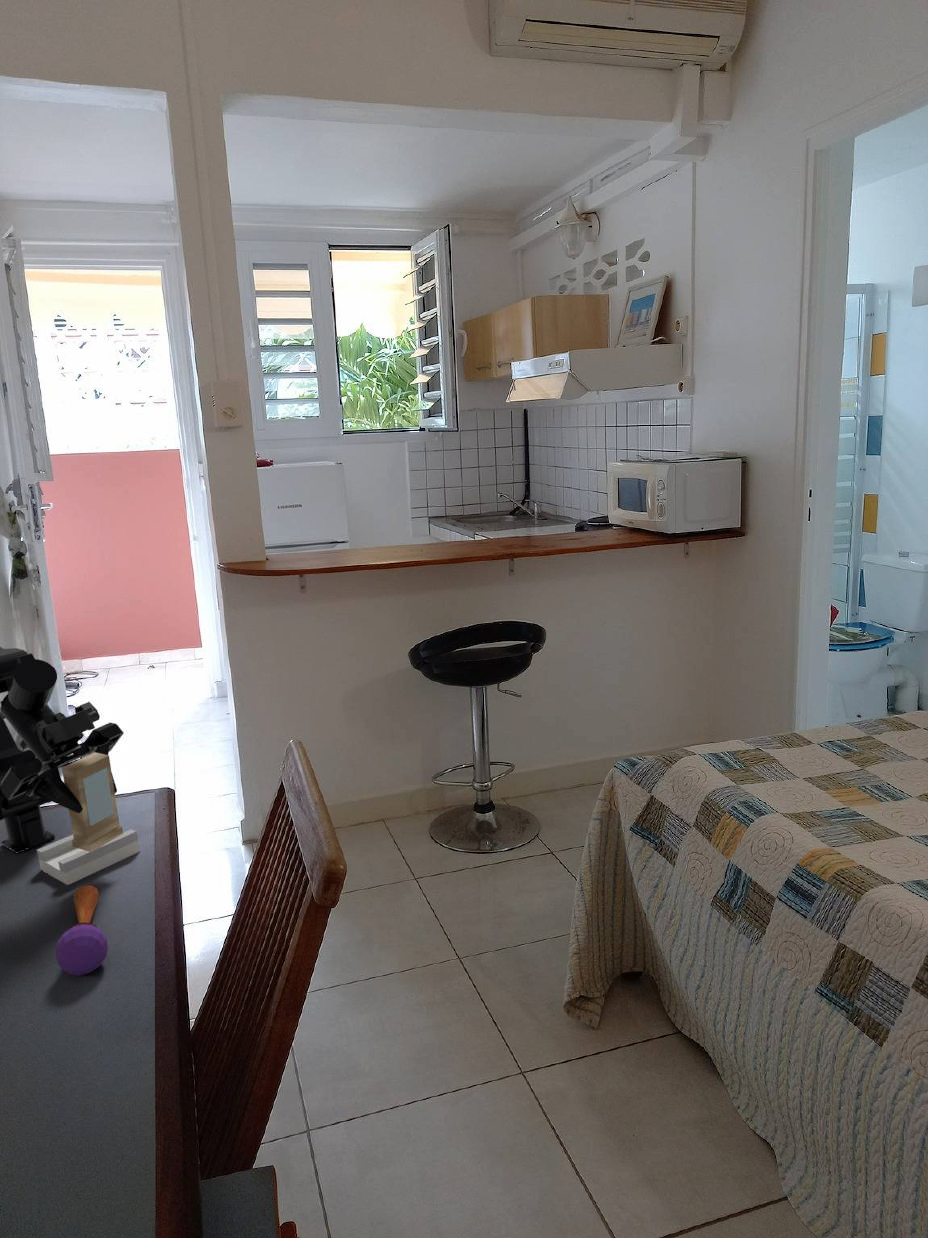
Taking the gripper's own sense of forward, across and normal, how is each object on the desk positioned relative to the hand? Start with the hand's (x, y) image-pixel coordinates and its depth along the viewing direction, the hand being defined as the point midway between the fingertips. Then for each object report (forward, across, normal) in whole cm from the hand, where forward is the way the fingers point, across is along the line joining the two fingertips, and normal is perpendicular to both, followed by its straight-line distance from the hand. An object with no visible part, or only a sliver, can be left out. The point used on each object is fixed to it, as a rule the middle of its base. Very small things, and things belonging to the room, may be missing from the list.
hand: (98, 802), depth 131 cm
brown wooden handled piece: (+17, -14, 0) cm, 22 cm away
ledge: (+4, +2, +13) cm, 14 cm away
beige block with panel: (+4, 0, +6) cm, 7 cm away
